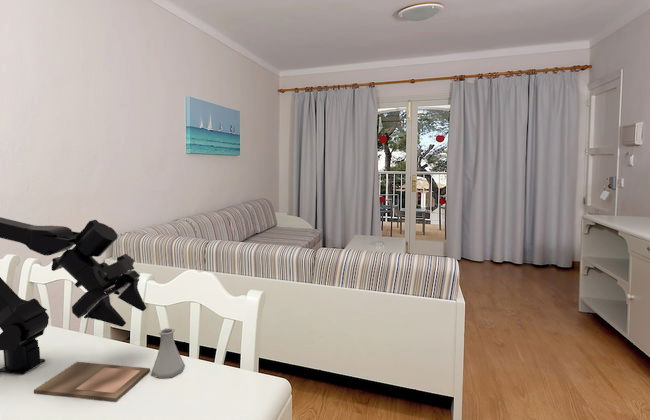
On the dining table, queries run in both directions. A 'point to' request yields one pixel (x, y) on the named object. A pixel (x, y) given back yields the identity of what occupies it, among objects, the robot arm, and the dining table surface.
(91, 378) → the walnut board
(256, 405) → the dining table surface
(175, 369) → the flask
